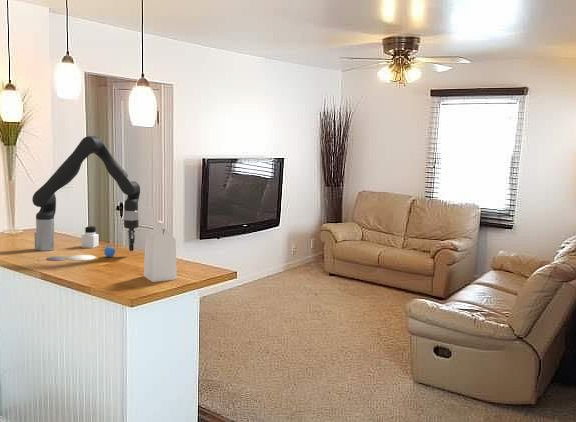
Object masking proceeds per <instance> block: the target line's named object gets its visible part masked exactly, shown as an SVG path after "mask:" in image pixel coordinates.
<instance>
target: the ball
mask: <svg viewBox="0 0 576 422" xmlns="http://www.w3.org/2000/svg"><path fill="white" fill-rule="evenodd" d="M103 254H104V255H105V257H106V258H111V257H113V256H115V254H116V250H115V248H114V247H113V246H107V247H105V249H104V251H103Z"/></svg>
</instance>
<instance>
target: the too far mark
mask: <svg viewBox="0 0 576 422" xmlns="http://www.w3.org/2000/svg"><path fill="white" fill-rule="evenodd" d="M67 258H68V257H67V256H63V255H61V256H60V255H59V256H57V255H56V256H50V257H49V256H48V257H46V260H47V261H50V262H51V261H55V262H56V261H57V262H59V261H65V260H68V259H67Z"/></svg>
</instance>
